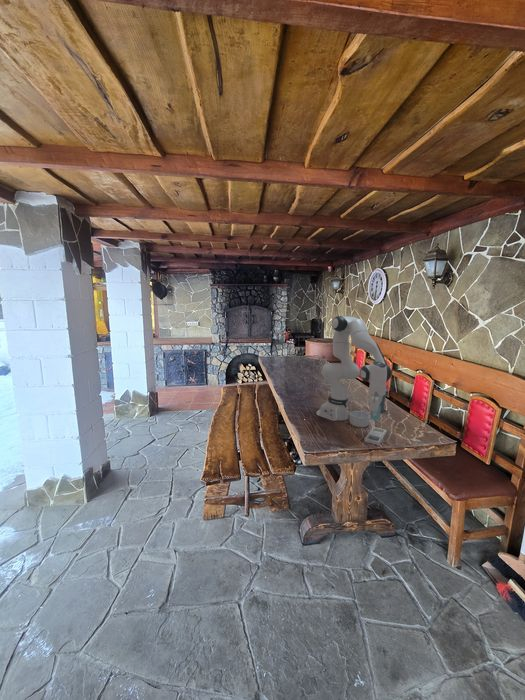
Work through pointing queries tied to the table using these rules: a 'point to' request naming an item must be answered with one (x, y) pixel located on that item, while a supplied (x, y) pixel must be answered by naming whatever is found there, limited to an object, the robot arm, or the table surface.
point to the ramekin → (359, 418)
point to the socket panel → (375, 435)
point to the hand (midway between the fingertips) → (375, 413)
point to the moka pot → (383, 402)
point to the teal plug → (376, 414)
